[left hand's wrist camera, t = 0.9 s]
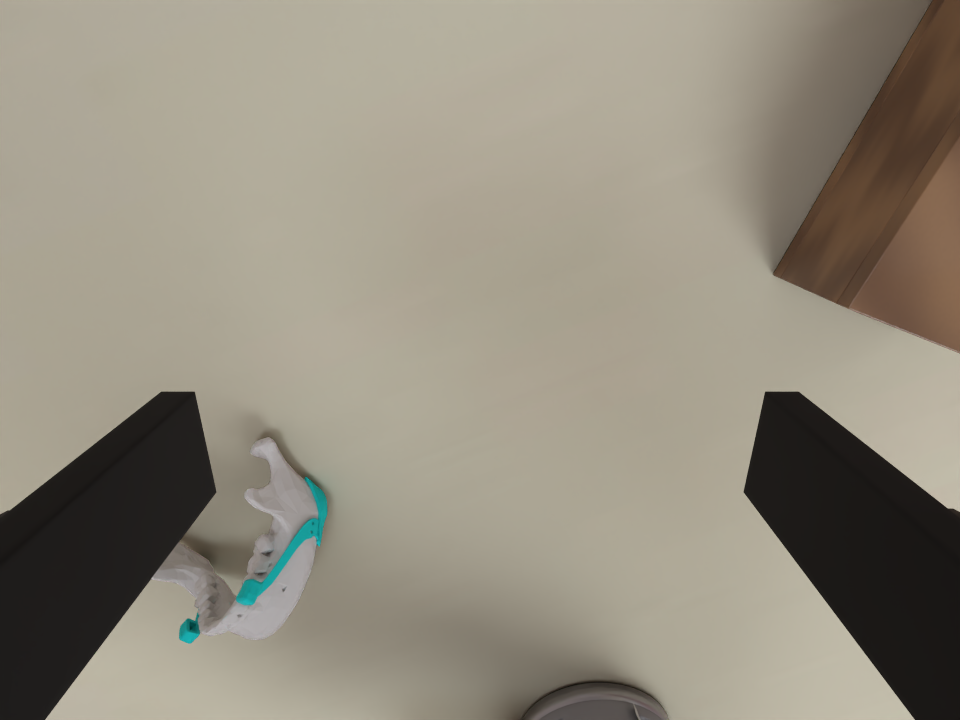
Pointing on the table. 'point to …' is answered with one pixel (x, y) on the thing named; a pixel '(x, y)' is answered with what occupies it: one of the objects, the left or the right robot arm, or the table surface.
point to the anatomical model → (257, 559)
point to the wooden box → (896, 198)
